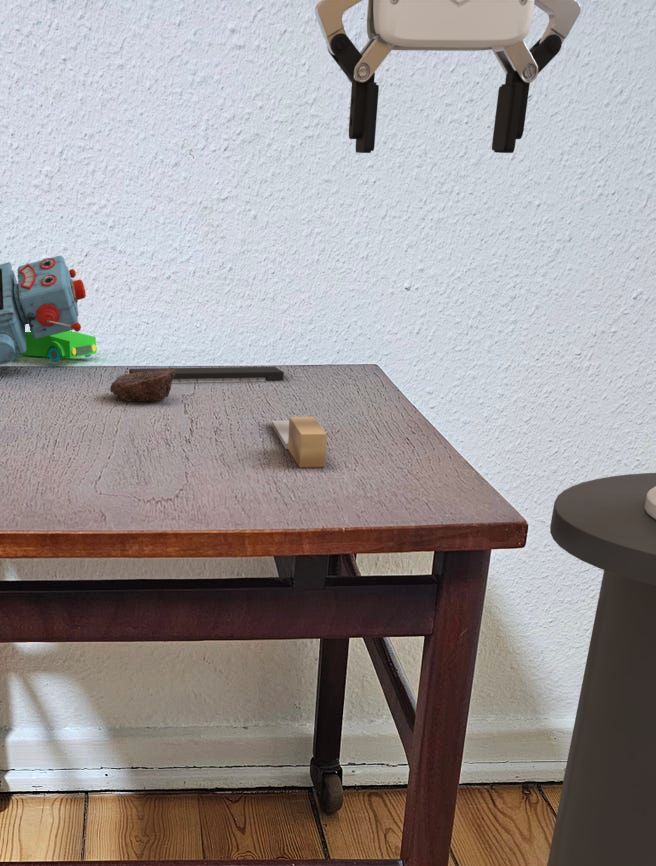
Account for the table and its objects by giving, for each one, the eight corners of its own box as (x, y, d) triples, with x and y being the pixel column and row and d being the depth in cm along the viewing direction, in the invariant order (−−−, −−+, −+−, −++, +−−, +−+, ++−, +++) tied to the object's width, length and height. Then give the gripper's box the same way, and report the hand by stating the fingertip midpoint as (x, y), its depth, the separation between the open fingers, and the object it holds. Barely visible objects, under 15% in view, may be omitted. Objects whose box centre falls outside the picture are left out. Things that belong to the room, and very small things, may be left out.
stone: (162, 407, 123) (162, 375, 121) (98, 403, 125) (96, 371, 123) (183, 396, 128) (183, 365, 127) (121, 393, 130) (120, 362, 129)
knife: (327, 467, 101) (329, 433, 100) (296, 467, 101) (298, 433, 100) (297, 425, 116) (299, 395, 114) (271, 425, 116) (272, 395, 114)
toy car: (-3, 358, 149) (-8, 300, 146) (30, 352, 154) (27, 296, 151) (68, 364, 144) (65, 304, 141) (100, 357, 149) (98, 299, 146)
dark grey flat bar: (283, 383, 137) (275, 378, 141) (283, 371, 136) (275, 366, 141) (133, 386, 135) (129, 380, 140) (132, 373, 135) (129, 368, 139)
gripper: (336, -188, 69) (317, 153, 78) (626, -184, 70) (575, 153, 79) (315, -161, 75) (300, 151, 84) (582, -157, 76) (539, 152, 85)
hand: (433, 152), depth 81 cm, fingers open, 9 cm apart
